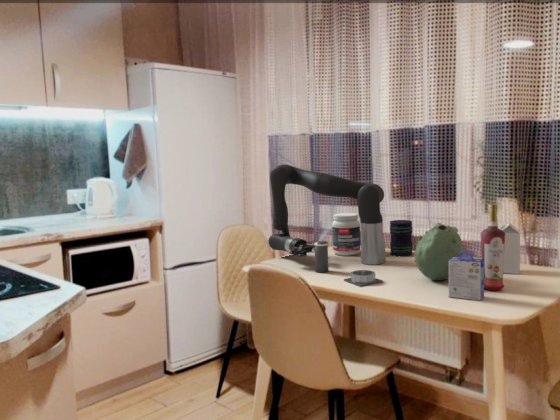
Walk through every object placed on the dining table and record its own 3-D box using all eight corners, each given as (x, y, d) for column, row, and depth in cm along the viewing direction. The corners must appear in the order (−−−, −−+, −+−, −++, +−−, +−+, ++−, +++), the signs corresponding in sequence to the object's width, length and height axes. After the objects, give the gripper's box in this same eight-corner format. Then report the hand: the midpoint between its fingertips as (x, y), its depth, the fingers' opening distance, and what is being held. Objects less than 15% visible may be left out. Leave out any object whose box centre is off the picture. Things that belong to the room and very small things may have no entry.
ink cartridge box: (484, 296, 152) (484, 251, 151) (481, 301, 148) (481, 254, 146) (452, 292, 158) (451, 249, 156) (448, 297, 153) (447, 252, 151)
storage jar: (415, 252, 220) (415, 220, 218) (409, 257, 212) (408, 223, 210) (394, 251, 225) (393, 219, 224) (387, 255, 217) (386, 222, 215)
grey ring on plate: (365, 276, 183) (365, 268, 183) (382, 282, 174) (382, 273, 174) (343, 280, 179) (343, 272, 178) (359, 286, 170) (359, 277, 169)
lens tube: (324, 269, 198) (323, 240, 197) (331, 271, 193) (330, 242, 192) (312, 271, 196) (311, 241, 194) (319, 273, 191) (318, 243, 189)
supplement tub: (341, 257, 218) (339, 217, 215) (328, 252, 229) (326, 214, 227) (366, 254, 222) (364, 214, 220) (352, 249, 234) (350, 212, 232)
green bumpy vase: (405, 282, 173) (404, 226, 170) (430, 271, 186) (429, 219, 184) (448, 289, 162) (447, 230, 160) (471, 276, 175) (470, 222, 173)
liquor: (485, 292, 156) (485, 206, 153) (477, 286, 163) (477, 204, 160) (508, 291, 156) (509, 205, 152) (499, 285, 163) (499, 203, 160)
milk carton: (519, 269, 182) (519, 219, 180) (519, 274, 175) (520, 222, 173) (498, 268, 185) (498, 219, 183) (498, 273, 178) (498, 222, 176)
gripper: (281, 240, 209) (299, 245, 194) (310, 236, 215) (329, 241, 201) (282, 257, 210) (300, 263, 195) (310, 252, 216) (330, 258, 202)
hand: (315, 252), depth 198 cm, fingers open, 8 cm apart
